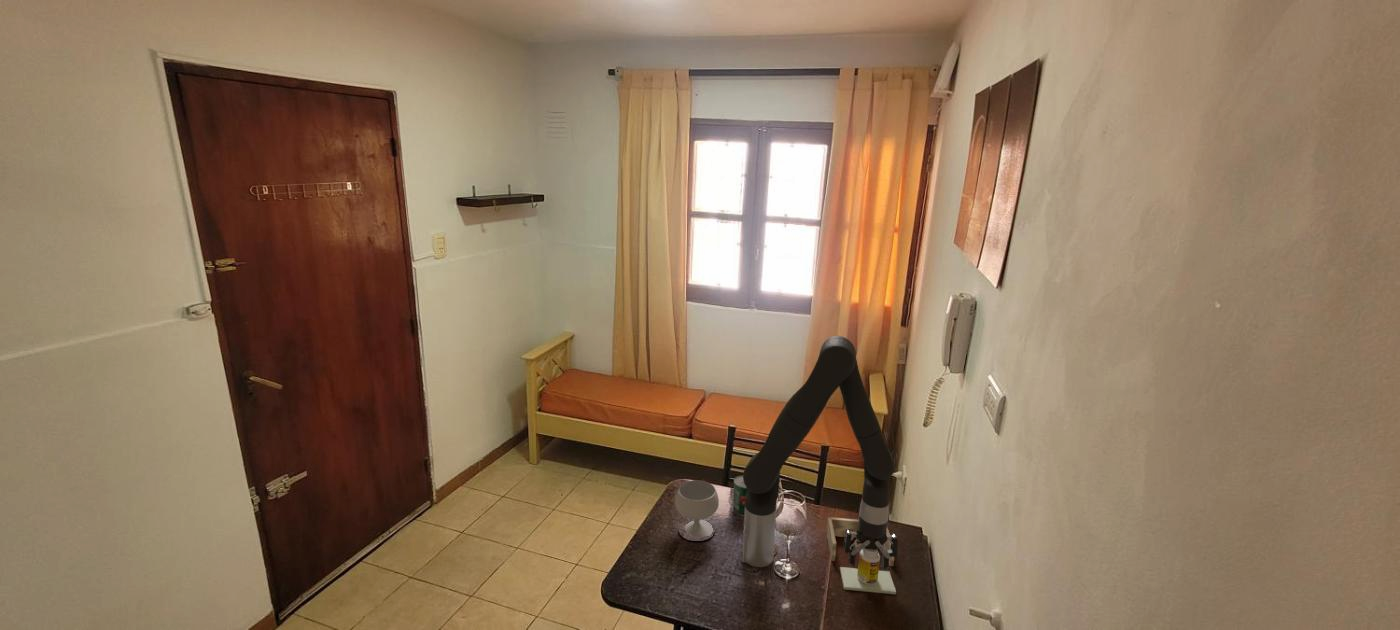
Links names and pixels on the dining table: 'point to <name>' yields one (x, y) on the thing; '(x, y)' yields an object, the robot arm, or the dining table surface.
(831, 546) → the cubby
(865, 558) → the supplement bottle
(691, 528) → the chalice
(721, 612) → the dining table surface
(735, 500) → the canned tomato
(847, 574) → the mat
